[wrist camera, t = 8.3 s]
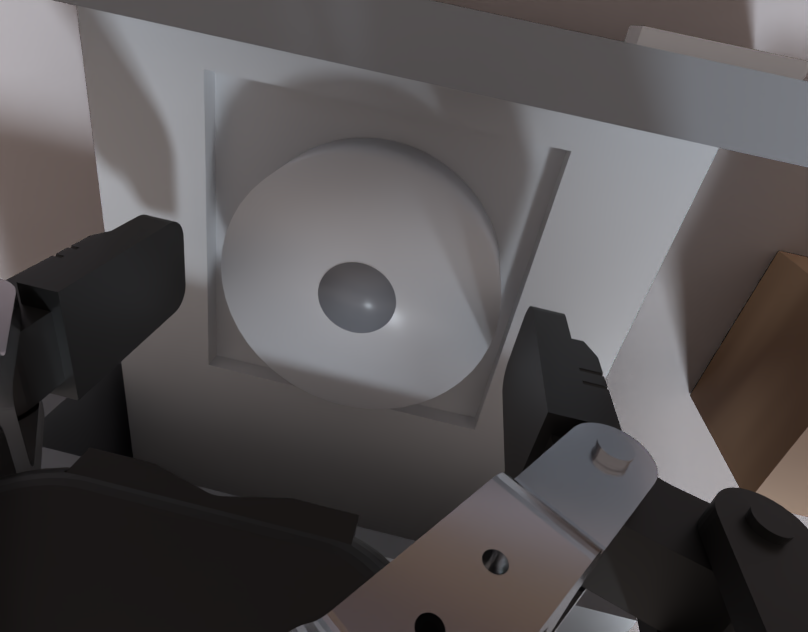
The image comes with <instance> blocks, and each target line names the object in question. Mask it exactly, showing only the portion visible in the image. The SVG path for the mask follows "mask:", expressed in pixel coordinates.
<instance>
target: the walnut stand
mask: <svg viewBox="0 0 808 632" xmlns="http://www.w3.org/2000/svg"><path fill="white" fill-rule="evenodd" d="M690 396H691V398H692V400H693V402H694V404H695V406H696V407H697V409H698V411H699V413H700V415H701V417H702V419H703V421H704V422H705V424H706V426H707V428H708V430H709V432H710V434H711V435H712V437H713V439H714V441H715V443H716V445H717V447H718V448H719V450H720V452H721V454H722V456H723V458H724V460H725V461H726V463H727V465H728V467H729V469H730V471H731V473H732V474H733V476H734V478H735V480H736V482H737V484H738V486H739V487H740V488H742V489H747V490H750V491H753V492H756V493H759V494H761V495H763V496H765V497H767V498H769V499H771V500H773V501H775V502H776V503H778V504H779V505H781V506H782V507H784V508H785V509H787V510H788V511H789V512H791V513H793V514H798V515H802V516H806V517H808V257H805V256H800V255H796V254H792V253H787V252H783V251H778V253H777V254H776V256H775V258H774V259H773V261H772V262H771V264H770V266H769V267H768V269H767V271H766V272H765V274H764V276H763V277H762V279H761V280H760V282H759V284H758V285H757V287H756V289H755V290H754V292H753V293H752V295H751V297H750V298H749V300H748V302H747V303H746V305H745V306H744V308H743V310H742V311H741V313H740V315H739V316H738V318H737V320H736V321H735V323H734V324H733V326H732V328H731V329H730V331H729V333H728V334H727V336H726V337H725V339H724V341H723V342H722V344H721V346H720V347H719V349H718V350H717V352H716V354H715V355H714V357H713V359H712V360H711V362H710V364H709V365H708V367H707V368H706V370H705V372H704V373H703V375H702V377H701V378H700V380H699V381H698V383H697V385H696V386H695V388H694V390H693V391H692V393H691V394H690Z"/></svg>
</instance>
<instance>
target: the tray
mask: <svg viewBox="0 0 808 632" xmlns="http://www.w3.org/2000/svg"><path fill="white" fill-rule="evenodd" d="M54 1H59V2H63V3H68V4H72V5H76V7H77V15H78V23H79V31H80V39H81V47H82V54H83V62H84V70H85V78H86V86H87V94H88V102H89V110H90V118H91V126H92V134H93V142H94V150H95V158H96V166H97V174H98V182H99V190H100V198H101V205H102V213H103V221H104V229H105V232H108V231H112V230H113V229H115V228H117V227H119V226H121V225H123V224H124V223H126V222H128V221H130V220H132V219H134V218H136V217H137V216H139V215H143V214H145V215H149V216H153V217H158V218H162V219H166V220H170V221H175V222H178V223H179V224H180V225H181V227H182V229H183V235H184V258H185V282H186V288H185V294H184V298H183V301H182V303H181V305H180V307H179V308H178V310H177V311H176V312H175V313H174V314H173V315H172V316H171V317H170V318H169V319H167V320H166V321H165V322H164V323H163V324H162V325H161V326H160V327H159V328H158V329H156V330H155V331H154V332H153V333H152V334H151V335H150V336H149V337H148V338H147V339H145V340H144V341H143V342H142V343H141V344H140V345H139V346H138V347H137V348H136V349H134V350H133V351H132V352H131V353H130V354H129V355H128V356H127V357H126V358H125V359H124V360H122V361H121V364H122V372H123V380H124V388H125V396H126V404H127V412H128V420H129V428H130V436H131V444H132V452H133V458H135V459H139V460H143V461H147V462H151V463H154V464H157V465H158V466H160V467H162V468H164V469H166V470H168V471H169V472H171V473H173V474H175V475H177V476H179V477H180V478H182V479H184V480H186V481H188V482H190V483H191V484H193V485H196V486H200V487H204V488H208V489H212V490H216V491H220V492H224V493H228V494H231V495H235V496H239V497H269V498H294V499H298V500H301V501H305V502H309V503H313V504H317V505H321V506H325V507H329V508H333V509H337V510H341V511H345V512H349V513H353V514H357V515H359V519H358V524H357V526H358V527H362V528H366V529H370V530H374V531H378V532H382V533H386V534H390V535H394V536H398V537H402V538H406V539H410V540H414V541H417V540H418V539H419V538H420V537H421V536H423V535H424V534H425V533H426V532H428V531H429V530H430V529H431V528H432V527H434V526H435V525H436V524H437V523H439V522H440V521H441V520H442V519H443V518H445V517H446V516H447V515H448V514H449V513H451V512H452V511H453V510H454V509H456V508H457V507H458V506H459V505H460V504H462V503H463V502H464V501H465V500H466V499H468V498H469V497H470V496H471V495H473V494H474V493H475V492H476V491H477V490H479V489H480V488H481V487H482V486H483V485H485V484H486V483H487V482H488V481H490V480H491V479H492V478H493V477H495V476H496V475H498V474H499V473H502V472H505V463H504V431H503V399H502V387H503V379H504V374H505V370H506V366H507V363H508V360H509V358H510V355H511V352H512V349H513V347H514V344H515V341H516V338H517V335H518V333H519V330H520V327H521V324H522V322H523V319H524V316H525V314H526V311H527V309H528V308H529V307H530V306H533V307H538V308H542V309H546V310H550V311H555V312H559V313H563V314H565V316H566V319H567V323H568V327H569V331H570V335H571V338H572V339H576V340H580V341H584V342H585V343H586V344H587V345H588V347H589V348H590V349H591V350H592V351H593V352H594V353H595V355H596V356H597V357H598V359H599V362H600V365H601V368H602V371H603V376H604V378H605V379H606V377H607V375H608V372H609V370H610V368H611V366H612V364H613V362H614V360H615V358H616V356H617V354H618V352H619V350H620V348H621V346H622V344H623V342H624V340H625V338H626V336H627V334H628V332H629V330H630V328H631V326H632V324H633V322H634V320H635V318H636V316H637V314H638V312H639V309H640V307H641V305H642V303H643V301H644V299H645V297H646V295H647V293H648V291H649V289H650V287H651V285H652V283H653V281H654V279H655V277H656V275H657V273H658V271H659V269H660V267H661V265H662V263H663V261H664V259H665V257H666V255H667V253H668V251H669V249H670V247H671V244H672V242H673V240H674V238H675V236H676V234H677V232H678V230H679V228H680V226H681V224H682V222H683V220H684V218H685V216H686V214H687V212H688V210H689V208H690V206H691V204H692V202H693V200H694V198H695V196H696V194H697V192H698V190H699V188H700V186H701V184H702V181H703V179H704V177H705V175H706V173H707V171H708V169H709V167H710V165H711V163H712V161H713V159H714V157H715V155H716V153H717V151H718V149H719V148H722V149H727V150H731V151H736V152H740V153H745V154H749V155H754V156H759V157H763V158H768V159H772V160H777V161H781V162H786V163H790V164H795V165H799V166H804V167H808V81H803V80H804V78H805V77H806V75H807V73H808V61H805V60H801V59H796V58H792V57H787V56H782V55H778V54H773V53H768V52H764V51H759V50H754V49H750V48H745V47H740V46H736V45H731V44H726V43H722V42H717V41H712V40H708V39H703V38H698V37H694V36H689V35H684V34H680V33H675V32H670V31H666V30H661V29H656V28H652V27H647V26H629V29H628V32H627V35H626V38H625V40H624V42H622V41H618V40H613V39H608V38H604V37H599V36H594V35H590V34H585V33H581V32H576V31H571V30H567V29H562V28H557V27H553V26H548V25H543V24H539V23H534V22H530V21H525V20H520V19H516V18H511V17H506V16H502V15H497V14H492V13H488V12H483V11H479V10H474V9H469V8H465V7H460V6H455V5H451V4H446V3H441V2H437V1H432V0H54ZM349 138H378V139H384V140H391V141H395V142H398V143H402V144H405V145H408V146H411V147H414V148H416V149H418V150H420V151H423V152H425V153H427V154H429V155H431V156H432V157H434V158H435V159H437V160H439V161H440V162H442V163H444V164H445V165H446V166H447V167H449V168H450V169H451V170H452V171H454V172H455V173H456V174H457V175H458V176H459V177H460V178H461V179H462V180H463V181H464V182H465V183H466V184H467V185H468V186H469V187H470V188H471V189H472V191H473V192H474V194H475V195H476V196H477V198H478V199H479V201H480V202H481V203H482V205H483V207H484V209H485V211H486V213H487V215H488V216H489V218H490V221H491V223H492V226H493V229H494V232H495V235H496V238H497V243H498V248H499V256H500V280H501V304H500V315H499V319H498V323H497V328H496V332H495V334H494V336H493V339H492V341H491V344H490V346H489V348H488V349H487V351H486V353H485V354H484V356H483V358H482V359H481V361H480V362H479V363H478V364H477V366H476V367H475V368H474V369H473V370H472V372H471V373H470V374H468V375H467V376H466V377H465V378H464V379H463V380H462V381H461V382H460V383H458V384H457V385H455V386H454V387H452V388H451V389H449V390H448V391H446V392H444V393H442V394H440V395H439V396H437V397H435V398H432V399H430V400H427V401H424V402H421V403H419V404H414V405H410V406H406V407H400V408H392V409H365V408H355V407H350V406H345V405H340V404H337V403H333V402H330V401H327V400H324V399H321V398H319V397H316V396H314V395H312V394H309V393H307V392H305V391H304V390H302V389H300V388H298V387H296V386H294V385H293V384H291V383H290V382H288V381H287V380H285V379H284V378H282V377H281V376H280V375H278V374H277V373H276V372H275V371H274V370H272V369H271V368H270V367H269V366H268V365H267V364H266V363H265V362H264V361H263V360H262V359H261V358H260V357H259V356H258V355H257V354H256V353H255V352H254V350H253V349H252V348H251V347H250V345H249V344H248V343H247V342H246V340H245V338H244V337H243V335H242V334H241V332H240V331H239V329H238V327H237V325H236V323H235V321H234V319H233V317H232V315H231V313H230V310H229V307H228V304H227V301H226V298H225V293H224V289H223V284H222V273H221V259H222V248H223V244H224V239H225V234H226V232H227V229H228V227H229V224H230V221H231V219H232V217H233V215H234V214H235V212H236V210H237V208H238V207H239V205H240V204H241V202H242V201H243V200H244V199H245V197H246V196H247V195H248V194H249V193H250V191H251V190H252V189H253V188H255V187H256V186H257V185H258V184H259V183H260V182H261V181H263V180H264V179H265V178H266V177H268V176H269V175H271V174H272V173H274V172H275V171H276V170H278V169H279V168H281V167H282V166H284V165H285V164H287V163H288V162H289V161H291V160H292V159H294V158H296V157H297V156H299V155H300V154H302V153H303V152H305V151H307V150H309V149H312V148H314V147H316V146H319V145H321V144H324V143H328V142H332V141H335V140H341V139H349Z"/></svg>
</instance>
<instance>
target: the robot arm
mask: <svg viewBox="0 0 808 632" xmlns="http://www.w3.org/2000/svg"><path fill="white" fill-rule="evenodd" d="M185 288H186V282H185V258H184V235H183V229H182V227H181V225H180V224H179V223H178V222H175V221H170V220H166V219H162V218H158V217H153V216H149V215H145V214H143V215H139V216H137V217H136V218H134V219H132V220H130V221H128V222H126V223H124V224H123V225H121V226H119V227H117V228H115V229H113V230H112V231H108V232H104V233H100V234H96V235H92V236H89V237H87V238H85V239H83V240H81V241H80V242H78V243H76V244H74V245H72V247H71V248H66V249H64V250H62V251H61V252H59V253H57V254H56V257H55V256H51V257H49V258H47V259H45V260H44V261H42V262H40V263H38V264H36V265H34V266H32V267H30V268H28V269H26V270H25V271H23V272H21V273H19V274H17V275H15V276H13V277H11V278H9V279H7V280H3V279H0V632H556V631H557V630H558V628H559V627H560V625H561V624H562V623H563V621H564V620H565V619H566V617H567V616H568V614H569V613H570V612H571V610H572V609H573V608H574V606H575V605H576V603H577V602H578V601H579V599H580V598H581V597H582V595H583V594H584V592H585V591H586V590H589V591H590V592H592V593H594V594H596V595H598V596H599V597H601V598H603V599H605V600H606V601H608V602H610V603H612V604H613V605H615V606H617V607H619V608H620V609H622V610H624V611H626V612H627V613H629V614H631V615H633V616H634V617H636V618H637V621H638V625H639V630H640V632H808V529H807V527H806V526H805V525H804V524H803V523H802V522H801V521H800V520H799V519H798V518H796V517H795V516H794V515H793V514H792V513H791V512H789V511H788V510H787V509H785V508H784V507H782V506H781V505H779V504H778V503H776V502H775V501H773V500H771V499H769V498H767V497H765V496H763V495H761V494H759V493H756V492H753V491H750V490H747V489H742V488H726V489H723V490H721V491H720V492H719V493H718V494H717V495H716V496H715V498H714V499H713V501H712V502H711V503H708V502H706V501H703V500H701V499H699V498H697V497H695V496H693V495H691V494H689V493H687V492H685V491H682V490H680V489H678V488H676V487H674V486H672V485H670V484H668V483H666V482H664V481H663V480H661V479H660V478H658V470H657V466H656V463H655V461H654V459H653V458H652V456H651V455H650V453H649V452H648V451H647V450H646V449H645V448H644V447H643V445H641V444H640V443H639V442H638V441H637V440H635V439H634V438H633V437H631V436H630V435H628V434H626V433H625V432H623V431H622V430H621V427H620V424H619V421H618V418H617V415H616V412H615V409H614V405H613V402H612V399H611V396H610V393H609V390H607V384H606V381H605V378H604V376H603V371H602V368H601V365H600V362H599V359H598V357H597V356H596V355H595V353H594V352H593V351H592V350H591V349H590V348H589V347H588V345H587V344H586V343H585V342H584V341H580V340H576V339H572V338H571V335H570V331H569V327H568V323H567V319H566V316H565V314H563V313H559V312H555V311H550V310H546V309H542V308H538V307H533V306H530V307H529V308H528V309H527V311H526V314H525V316H524V319H523V322H522V324H521V327H520V330H519V333H518V335H517V338H516V341H515V344H514V347H513V349H512V352H511V355H510V358H509V360H508V363H507V366H506V370H505V374H504V379H503V387H502V399H503V431H504V463H505V472H502V473H499V474H498V475H496V476H495V477H493V478H492V479H491V480H490V481H488V482H487V483H486V484H485V485H483V486H482V487H481V488H480V489H479V490H477V491H476V492H475V493H474V494H473V495H471V496H470V497H469V498H468V499H466V500H465V501H464V502H463V503H462V504H460V505H459V506H458V507H457V508H456V509H454V510H453V511H452V512H451V513H449V514H448V515H447V516H446V517H445V518H443V519H442V520H441V521H440V522H439V523H437V524H436V525H435V526H434V527H432V528H431V529H430V530H429V531H428V532H426V533H425V534H424V535H423V536H421V537H420V538H419V539H418V540H417V541H415V542H414V543H413V544H412V545H411V546H409V547H408V548H407V549H406V550H404V551H403V552H402V553H401V554H400V555H398V556H397V557H396V558H395V559H394V560H392V561H391V562H389V561H388V560H387V559H386V558H385V557H384V556H383V555H382V554H381V553H379V552H378V551H376V550H375V549H374V548H372V547H371V546H369V545H368V544H366V543H365V542H363V541H361V540H359V539H357V538H356V537H355V533H356V528H357V524H358V519H359V515H357V514H353V513H349V512H345V511H341V510H337V509H333V508H329V507H325V506H321V505H317V504H313V503H309V502H305V501H301V500H298V499H294V498H269V497H233V496H217V495H213V494H210V493H208V492H206V491H204V490H202V489H201V488H199V487H197V486H195V485H193V484H191V483H190V482H188V481H186V480H184V479H182V478H180V477H179V476H177V475H175V474H173V473H171V472H169V471H168V470H166V469H164V468H162V467H160V466H158V465H157V464H154V463H151V462H147V461H143V460H139V459H135V458H131V457H127V456H123V455H119V454H115V453H111V452H107V451H103V450H99V449H95V448H91V447H89V448H88V449H87V450H86V452H85V453H84V454H83V455H82V456H81V457H80V458H79V459H78V460H77V461H76V462H75V463H74V464H73V465H72V466H71V467H60V468H45V469H41V460H42V446H43V431H44V417H45V412H44V407H43V403H42V399H44V398H45V397H46V396H47V395H48V394H50V393H51V394H55V395H59V396H63V397H67V398H71V399H75V400H80V399H81V398H82V397H83V396H84V395H85V394H86V393H87V392H88V391H89V390H91V389H92V388H93V387H94V386H95V385H96V384H97V383H98V382H99V381H100V380H102V379H103V378H104V377H105V376H106V375H107V374H108V373H109V372H110V371H111V370H113V369H114V368H115V367H116V366H117V365H118V364H119V363H120V362H121V361H122V360H124V359H125V358H126V357H127V356H128V355H129V354H130V353H131V352H132V351H133V350H134V349H136V348H137V347H138V346H139V345H140V344H141V343H142V342H143V341H144V340H145V339H147V338H148V337H149V336H150V335H151V334H152V333H153V332H154V331H155V330H156V329H158V328H159V327H160V326H161V325H162V324H163V323H164V322H165V321H166V320H167V319H169V318H170V317H171V316H172V315H173V314H174V313H175V312H176V311H177V310H178V308H179V307H180V305H181V303H182V301H183V298H184V294H185Z"/></svg>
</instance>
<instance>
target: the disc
mask: <svg viewBox="0 0 808 632" xmlns="http://www.w3.org/2000/svg"><path fill="white" fill-rule="evenodd" d="M221 273H222V284H223V289H224V293H225V298H226V301H227V304H228V307H229V310H230V313H231V315H232V317H233V319H234V321H235V323H236V325H237V327H238V329H239V331H240V332H241V334H242V335H243V337H244V338H245V340H246V342H247V343H248V344H249V345H250V347H251V348H252V349H253V350H254V352H255V353H256V354H257V355H258V356H259V357H260V358H261V359H262V360H263V361H264V362H265V363H266V364H267V365H268V366H269V367H270V368H271V369H272V370H274V371H275V372H276V373H277V374H278V375H280V376H281V377H282V378H284V379H285V380H287V381H288V382H290V383H291V384H293V385H294V386H296V387H298V388H300V389H302V390H304V391H305V392H307V393H309V394H312V395H314V396H316V397H319V398H321V399H324V400H327V401H330V402H333V403H337V404H340V405H345V406H350V407H355V408H365V409H392V408H400V407H406V406H410V405H414V404H419V403H421V402H424V401H427V400H430V399H432V398H435V397H437V396H439V395H440V394H442V393H444V392H446V391H448V390H449V389H451V388H452V387H454V386H455V385H457V384H458V383H460V382H461V381H462V380H463V379H464V378H465V377H466V376H467V375H468V374H470V373H471V372H472V370H473V369H474V368H475V367H476V366H477V364H478V363H479V362H480V361H481V359H482V358H483V356H484V354H485V353H486V351H487V349H488V348H489V346H490V344H491V341H492V339H493V336H494V334H495V332H496V328H497V323H498V319H499V315H500V304H501V280H500V256H499V248H498V243H497V238H496V235H495V232H494V229H493V226H492V223H491V221H490V218H489V216H488V215H487V213H486V211H485V209H484V207H483V205H482V203H481V202H480V201H479V199H478V198H477V196H476V195H475V194H474V192H473V191H472V189H471V188H470V187H469V186H468V185H467V184H466V183H465V182H464V181H463V180H462V179H461V178H460V177H459V176H458V175H457V174H456V173H455V172H454V171H452V170H451V169H450V168H449V167H447V166H446V165H445V164H444V163H442V162H440V161H439V160H437V159H435V158H434V157H432V156H431V155H429V154H427V153H425V152H423V151H420V150H418V149H416V148H414V147H411V146H408V145H405V144H402V143H398V142H395V141H391V140H384V139H378V138H349V139H341V140H335V141H332V142H328V143H324V144H321V145H319V146H316V147H314V148H312V149H309V150H307V151H305V152H303V153H302V154H300V155H299V156H297V157H296V158H294V159H292V160H291V161H289V162H288V163H287V164H285V165H284V166H282V167H281V168H279V169H278V170H276V171H275V172H274V173H272V174H271V175H269V176H268V177H266V178H265V179H264V180H263V181H261V182H260V183H259V184H258V185H257V186H256V187H255V188H253V189H252V190H251V191H250V193H249V194H248V195H247V196H246V197H245V199H244V200H243V201H242V202H241V204H240V205H239V207H238V208H237V210H236V212H235V214H234V215H233V217H232V219H231V221H230V224H229V227H228V229H227V232H226V234H225V239H224V244H223V248H222V259H221Z"/></svg>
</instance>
